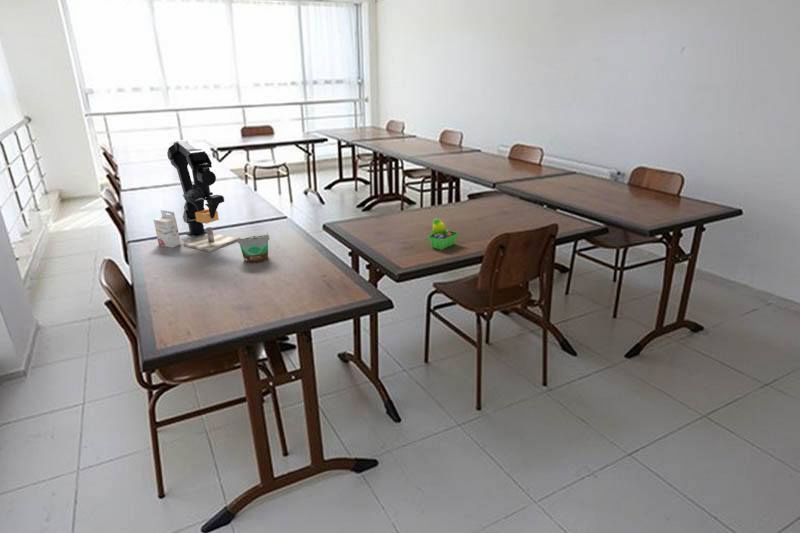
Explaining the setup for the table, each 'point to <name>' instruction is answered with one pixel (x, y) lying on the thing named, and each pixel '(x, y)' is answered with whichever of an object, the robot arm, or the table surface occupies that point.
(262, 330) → the table surface
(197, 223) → the robot arm
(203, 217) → the orange square ring
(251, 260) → the food container
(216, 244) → the post board
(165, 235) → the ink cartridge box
